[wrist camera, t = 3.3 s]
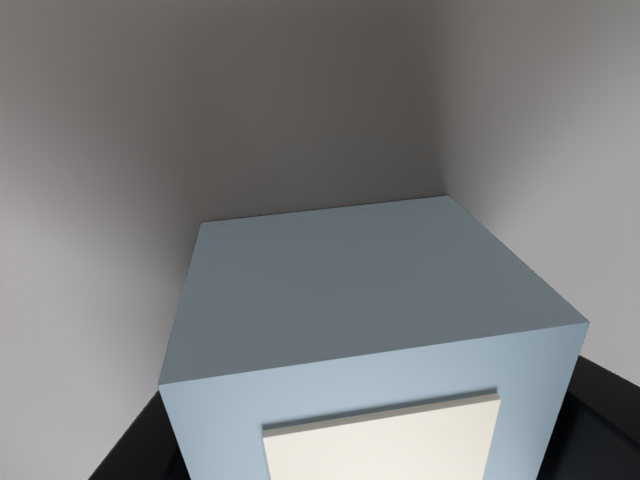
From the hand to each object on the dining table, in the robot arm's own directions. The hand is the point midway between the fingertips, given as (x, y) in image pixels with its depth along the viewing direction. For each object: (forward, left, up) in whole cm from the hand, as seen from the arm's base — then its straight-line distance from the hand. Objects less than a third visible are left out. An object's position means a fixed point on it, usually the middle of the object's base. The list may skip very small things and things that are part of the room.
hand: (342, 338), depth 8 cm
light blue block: (0, 0, -1) cm, 1 cm away
